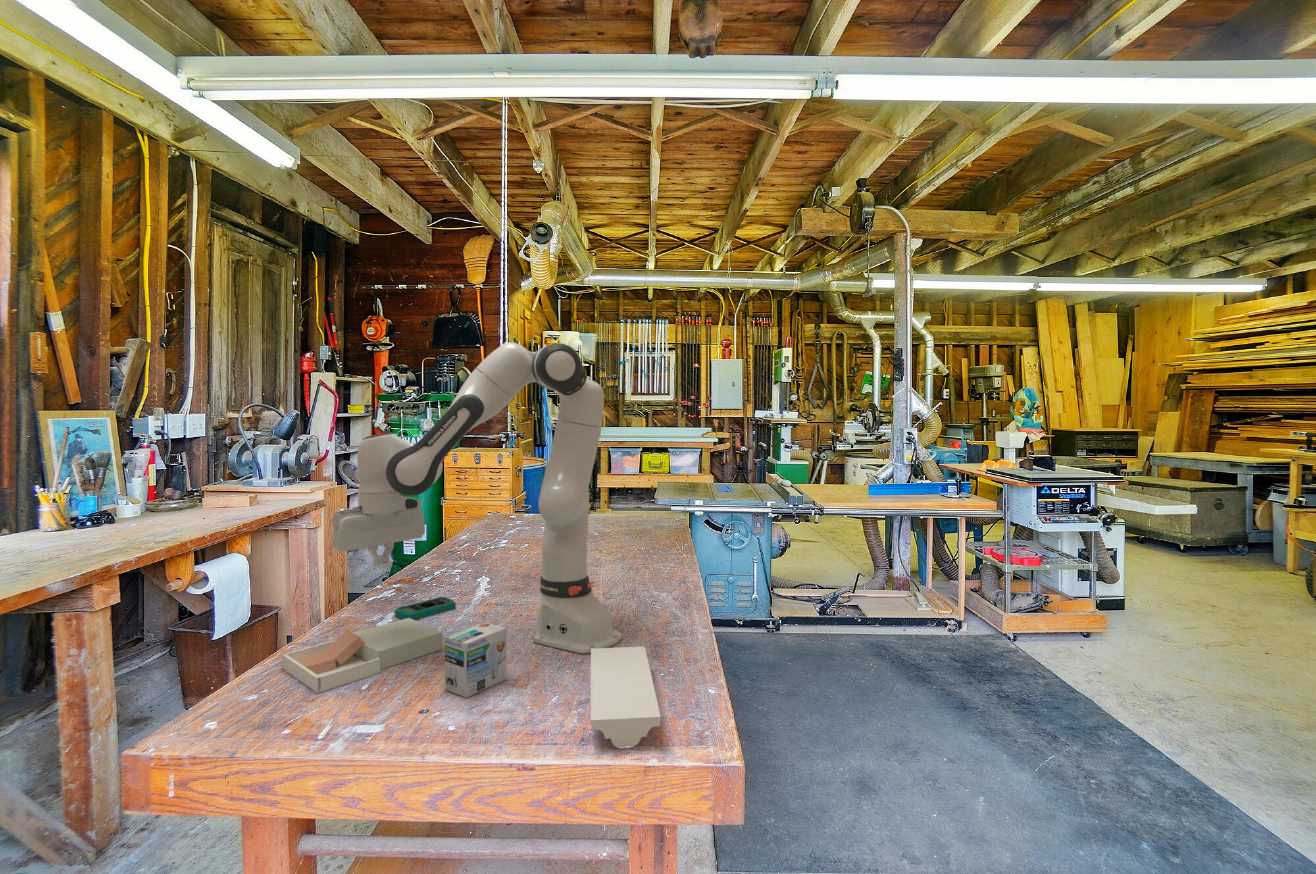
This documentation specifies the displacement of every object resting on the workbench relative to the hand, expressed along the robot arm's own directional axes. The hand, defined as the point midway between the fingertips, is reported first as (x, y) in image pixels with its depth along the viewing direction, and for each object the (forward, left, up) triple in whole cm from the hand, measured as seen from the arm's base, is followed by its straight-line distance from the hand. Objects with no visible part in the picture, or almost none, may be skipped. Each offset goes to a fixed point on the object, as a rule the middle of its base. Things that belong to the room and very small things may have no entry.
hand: (381, 563), depth 137 cm
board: (-3, -1, -20) cm, 20 cm away
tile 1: (-1, +15, -17) cm, 23 cm away
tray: (-3, +13, -20) cm, 24 cm away
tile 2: (-1, +8, -17) cm, 19 cm away
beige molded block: (-60, -16, -20) cm, 66 cm away
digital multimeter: (+16, -20, -21) cm, 33 cm away
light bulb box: (-32, -3, -20) cm, 38 cm away
